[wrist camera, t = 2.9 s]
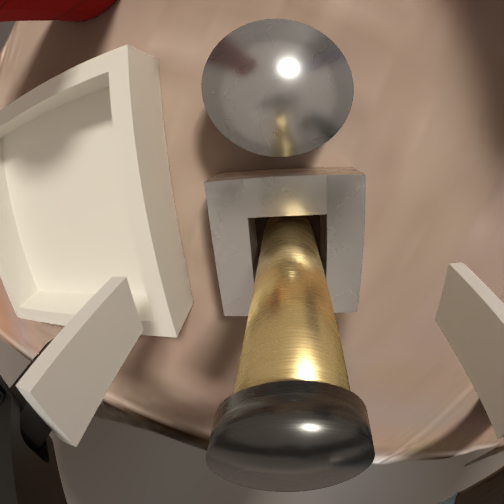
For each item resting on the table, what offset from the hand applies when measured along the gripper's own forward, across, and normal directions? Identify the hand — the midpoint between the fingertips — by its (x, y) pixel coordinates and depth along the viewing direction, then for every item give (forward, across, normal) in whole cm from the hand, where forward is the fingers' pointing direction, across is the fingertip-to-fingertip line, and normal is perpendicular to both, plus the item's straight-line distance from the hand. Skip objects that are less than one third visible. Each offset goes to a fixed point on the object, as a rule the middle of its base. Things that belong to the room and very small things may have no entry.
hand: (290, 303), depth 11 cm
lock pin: (+8, 0, 0) cm, 8 cm away
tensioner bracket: (+8, 0, -4) cm, 9 cm away
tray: (+8, +16, -3) cm, 18 cm away
